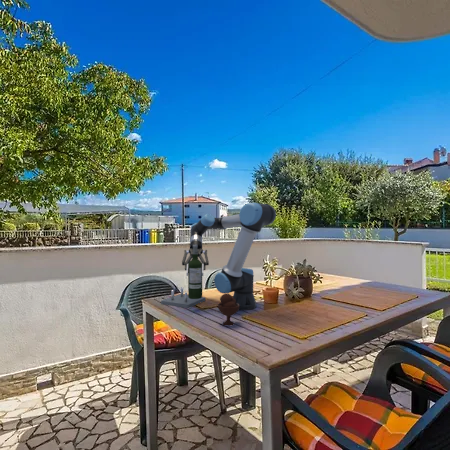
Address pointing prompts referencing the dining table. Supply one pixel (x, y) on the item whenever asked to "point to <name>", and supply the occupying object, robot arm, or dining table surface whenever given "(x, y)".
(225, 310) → the ice cream bowl
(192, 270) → the wine bottle
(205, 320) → the dining table surface
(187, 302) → the peg stand
